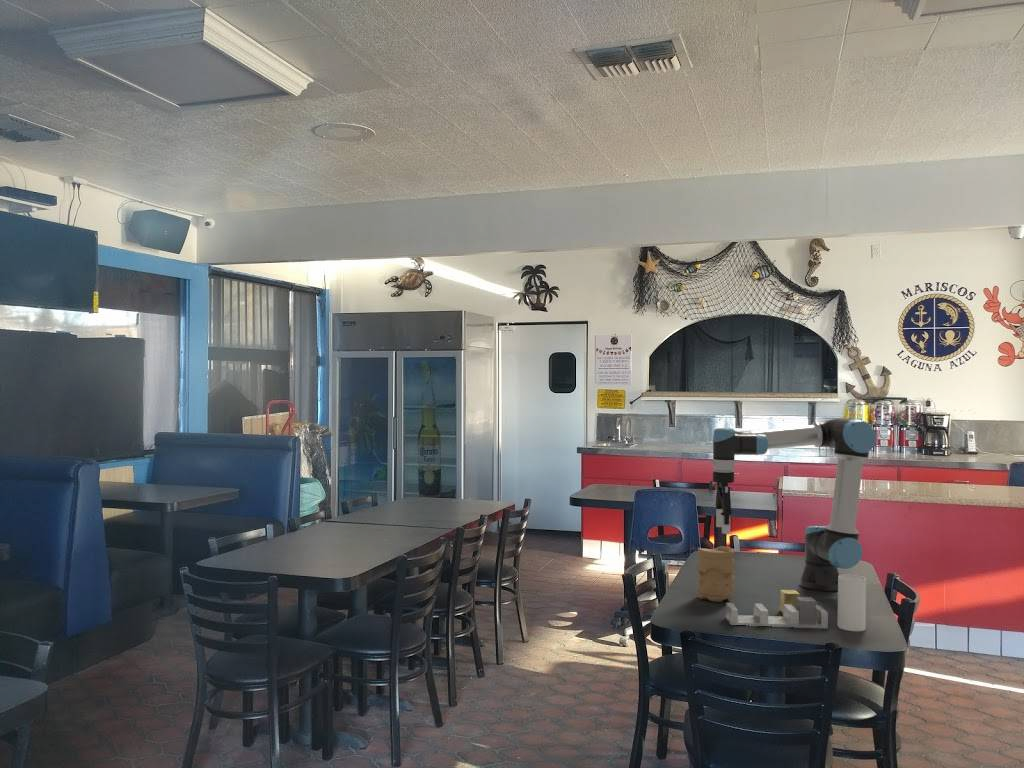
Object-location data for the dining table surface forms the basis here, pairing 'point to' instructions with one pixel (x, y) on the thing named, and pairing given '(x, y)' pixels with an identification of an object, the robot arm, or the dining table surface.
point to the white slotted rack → (800, 617)
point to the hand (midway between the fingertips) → (722, 530)
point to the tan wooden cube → (788, 598)
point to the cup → (851, 602)
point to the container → (715, 573)
